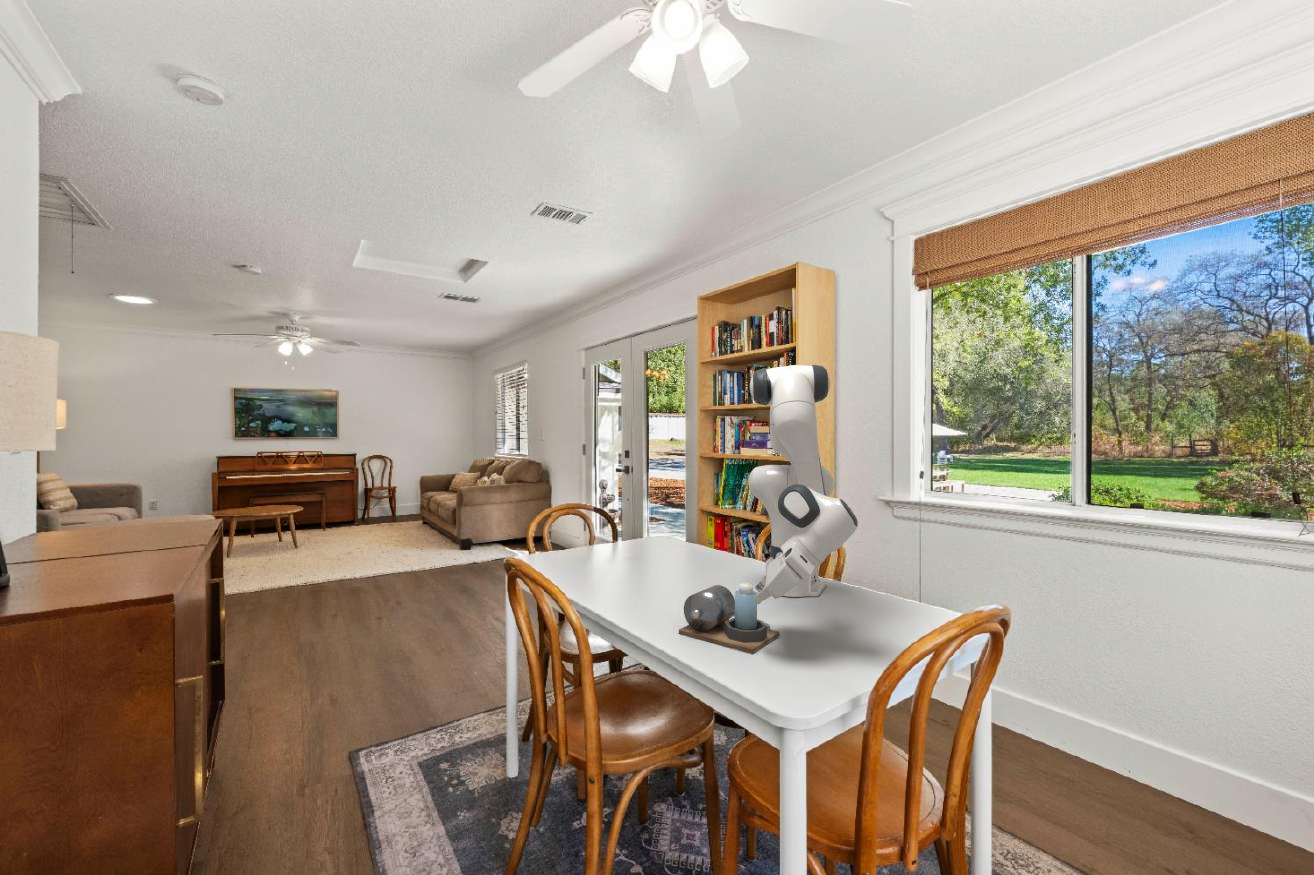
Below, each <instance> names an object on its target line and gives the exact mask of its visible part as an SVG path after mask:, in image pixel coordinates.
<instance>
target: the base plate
mask: <svg viewBox="0 0 1314 875" xmlns="http://www.w3.org/2000/svg"><path fill="white" fill-rule="evenodd" d="M729 620H730V619H729ZM729 620H727V621H729ZM727 621H725V622H727ZM725 622H723V623H721V624H719V625H717V626H715V627H713V628H712V629H710V630H708V631H705V632H699V631H696V630H695V629H693V628H692V627H691V626H690V625H689V624H688V625H685V626H683V627H681V628H680V629H678V635H682V636H686V637H689V638H693V639H696V640H701V641H704V642H708V643H712V644H714V643H715V644H714V645H719V646H722V647H725V648H729V649H732V650H737V651H740V652H743V653H748V654H750V655H754V654H755V653H757V652H758V651H759V650H761V649H763V648H764V647H765V646H767V645H768V644H770V643H771V642H773V641H774V640H776V639H777V638H779V637H780V631H778V630H775V629H771V628H770V629H767V637H766V638H765V639H763V640H762V641H760V642H746V643H743V642H739V641H736V640H732V639H729V638H728V637H727V635H726V634H725Z"/></svg>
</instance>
